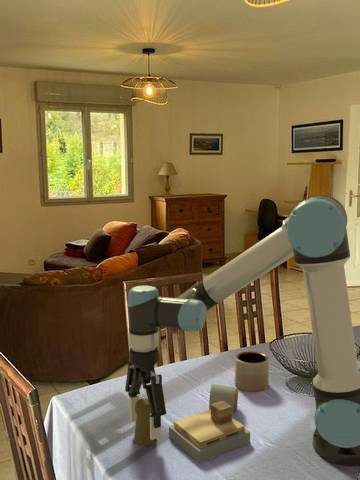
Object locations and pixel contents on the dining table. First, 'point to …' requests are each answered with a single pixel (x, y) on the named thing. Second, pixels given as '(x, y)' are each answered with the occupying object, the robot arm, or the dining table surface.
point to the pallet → (206, 428)
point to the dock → (209, 444)
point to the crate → (221, 412)
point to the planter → (251, 371)
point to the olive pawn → (143, 424)
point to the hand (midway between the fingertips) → (145, 428)
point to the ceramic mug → (224, 395)
